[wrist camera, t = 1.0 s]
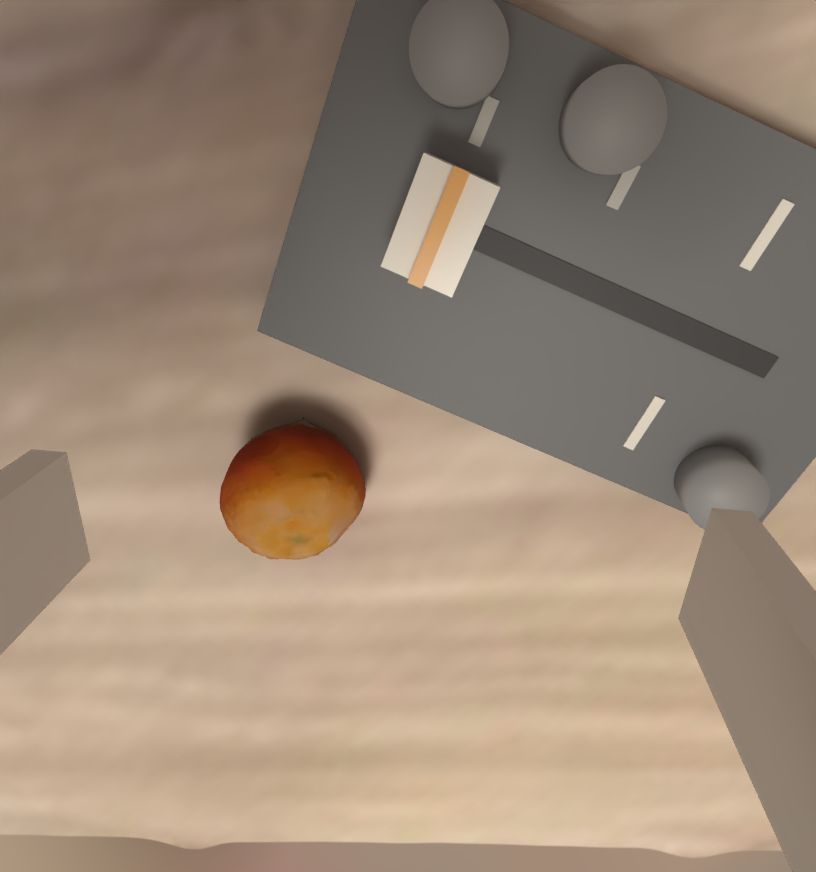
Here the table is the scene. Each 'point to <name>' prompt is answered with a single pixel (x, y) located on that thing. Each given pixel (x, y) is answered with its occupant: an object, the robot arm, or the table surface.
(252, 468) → the fruit
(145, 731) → the table surface
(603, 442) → the console
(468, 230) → the fader
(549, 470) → the table surface
